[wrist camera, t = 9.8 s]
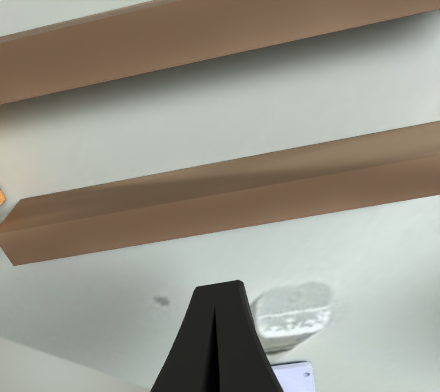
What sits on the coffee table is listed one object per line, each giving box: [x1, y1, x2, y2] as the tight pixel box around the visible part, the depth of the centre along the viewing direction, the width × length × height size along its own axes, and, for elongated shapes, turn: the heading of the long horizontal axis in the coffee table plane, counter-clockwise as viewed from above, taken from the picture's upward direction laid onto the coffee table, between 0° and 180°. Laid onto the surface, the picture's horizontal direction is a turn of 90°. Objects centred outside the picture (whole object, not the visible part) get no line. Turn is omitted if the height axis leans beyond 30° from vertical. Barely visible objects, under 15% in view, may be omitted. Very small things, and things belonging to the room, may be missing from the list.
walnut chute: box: [0, 0, 440, 266], centre depth 16 cm, size 10×22×3 cm, turn 102°
